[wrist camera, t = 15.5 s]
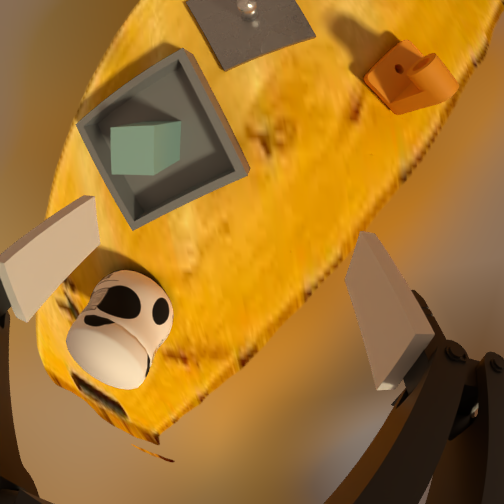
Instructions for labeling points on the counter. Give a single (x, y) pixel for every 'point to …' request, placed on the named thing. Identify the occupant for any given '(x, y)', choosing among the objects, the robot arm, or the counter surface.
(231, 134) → the bin
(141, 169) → the green rectangular block
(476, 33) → the counter surface
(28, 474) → the robot arm
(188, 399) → the counter surface
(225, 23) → the base
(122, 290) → the milk container
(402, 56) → the bracket
